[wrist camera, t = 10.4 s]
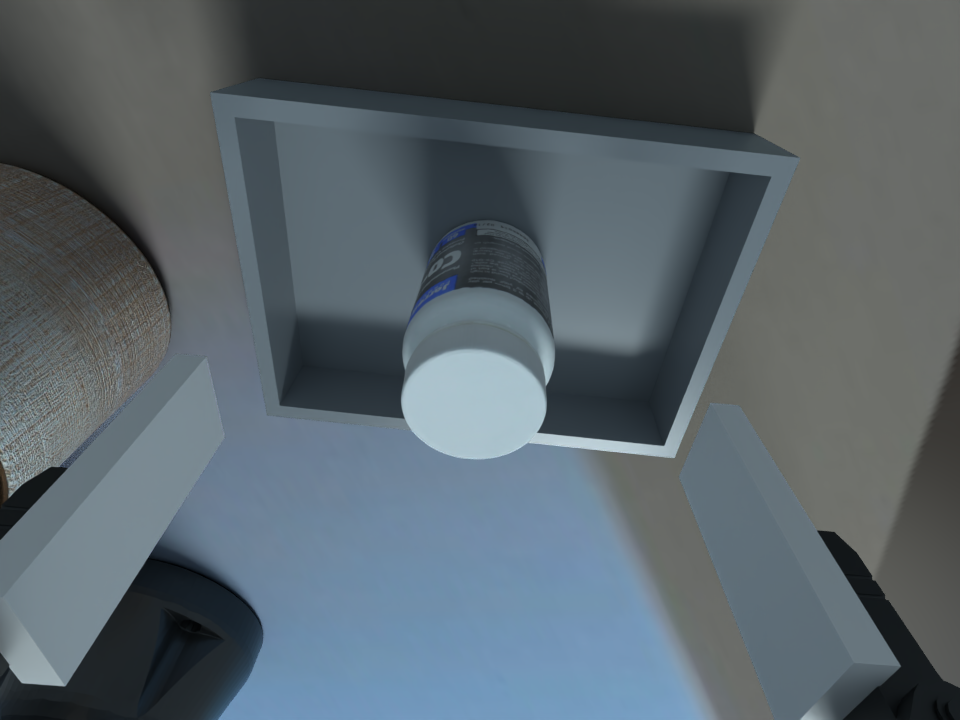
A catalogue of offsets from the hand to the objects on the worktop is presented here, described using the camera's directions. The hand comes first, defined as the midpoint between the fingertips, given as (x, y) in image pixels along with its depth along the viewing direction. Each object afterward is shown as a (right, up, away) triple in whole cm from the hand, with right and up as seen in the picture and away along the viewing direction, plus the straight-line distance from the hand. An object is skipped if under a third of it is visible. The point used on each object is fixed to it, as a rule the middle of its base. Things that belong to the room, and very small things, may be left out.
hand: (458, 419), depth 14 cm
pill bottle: (+1, +5, +7) cm, 9 cm away
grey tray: (+1, +5, +7) cm, 9 cm away
